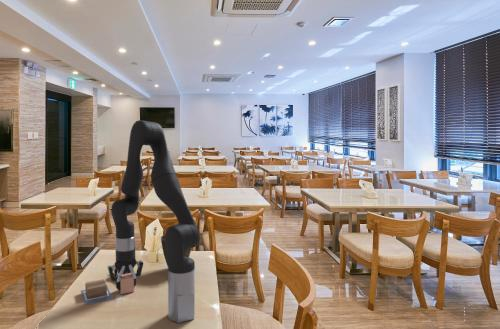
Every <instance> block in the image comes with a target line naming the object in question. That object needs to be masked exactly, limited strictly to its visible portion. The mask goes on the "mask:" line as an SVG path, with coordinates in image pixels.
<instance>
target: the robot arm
mask: <svg viewBox="0 0 500 329" xmlns="http://www.w3.org/2000/svg"><path fill="white" fill-rule="evenodd" d="M143 146H149V147H150V149H151V151H152V155H153V158H154V159H153V165H152V169H151V173H150V179H151V183H152V186H153V189H154V193H155V194H156V197H157V198H158V199H159V200H160V201H161V202H162V203H163V204H164V205H165V206H166V207H167V208H168V209H170V210H171V211H172V213H173V214H174V216H175V218H176V219H177V222H178V223H177V224H173V225H170V226H168V228H166V231H165V234H166V235H165V234H164V235H165V244H166V260H167V263H166V265H167V264H168V266H167V282H168V283H167V285H168V286H167V303H168V304H167V307H168V308H167V309H168V310H167V311H168V313H167V314H168V316H167V317H168V319H169V320H170V321H172V322H176V323H177V324H181V323H184V322H187V321H188V322H189V321H191V320H194V319H195V308H196V307H195V305H196V304H195V292H196V291H195V289H196V288H195V286H196V285H195V282H196V281H195V280H196V279H195V278H196V276H195V275H196V274H195V272H196V271H195V270H196V265H195V261H194V259H193V258H191V257H190V256H189V257H184V255H183V250H187V249H190V248H191V249H193V248H196V247H197V246H199V244H200V241H201V236H200V232H199V228H198V225H197V223H196V220H195V219H194V216H193V215H192V212H191V210H190V209H189V208H190V207H189V205H188V203H187V201H186V198H185V196H184V194H183V190H182V188H181V184H180V181H179V179H178V175H177V173H176V170H175V168H174V165H173V162H172V158H171V155H170V152H169V149H168V145H167V139H166V135H165V132H164V129H163V127H162V125H161V124H159V123H157V122H155V121H147V120H143V119H142V120H136V121H134V123H133V124H132V126H131V129H130V133H129V141H128V150H127V158H126V160H127V161H126V165H125V166H126V167H125V173H124V175H123V179H122V182H121V186H120V191H121V193H122V194H123V195H124V198H121V199H116V200H115V201H113V203H112V205H111V208H110V210H111V212H110V214H111V216H112V220H113V222H114V226H115V243H114V244H115V245H114V247H115V262H114V264H113V265H108V266H107V270H108V274H109V277H110V280H111V281H112V282H115V288H116V290H118V292H120V278H121V277H122V274H123V273H126V272H130V273H131V275H132V276H133V277H134V288H135V287H136V286H137V278H138V277H141V275H142V271H143V267H144V262H143V260H137V259H136V238H135V224H134V222H133V221H130V220H128V216H130V215H133V214H135V213H136V211H138V208H139V205H140V200H139V199H140V188H141V186H142V183H143V178H144V171H143V170H144V169H143V166H142V162H141V152H142V149H143ZM166 260H165V261H166ZM136 265H137V269H136V272H135V271H134V268H135V267H136ZM115 267H116V268H117V269H118V272H117V276H115V273H114V270H115Z"/></svg>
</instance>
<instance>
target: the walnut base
mask: <svg viewBox="0 0 500 329" xmlns="http://www.w3.org/2000/svg"><path fill="white" fill-rule="evenodd" d="M84 285H85V290H86V295H87V298H88V299H92V298H96V297H101V296H106V295H107V287H108V284H107V283H106V281H105V278H104V279H98V280H92V281H87V282H84Z"/></svg>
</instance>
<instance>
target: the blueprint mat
mask: <svg viewBox="0 0 500 329" xmlns="http://www.w3.org/2000/svg"><path fill="white" fill-rule="evenodd" d="M80 294H81V296H82V300H83V303H84V306H88V305H92V304H98V303H101V302H107V301H111V300H114V298H113V296H112V293H111V291H110V290H109V287H108V286H107V295H106V296H101V297H96V298H92V299H88V298H87V295H86V289H82V290H80Z"/></svg>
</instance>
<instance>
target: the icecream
mask: <svg viewBox="0 0 500 329" xmlns="http://www.w3.org/2000/svg"><path fill="white" fill-rule="evenodd" d="M117 272H118V269H117V268H116V267H115V268H114V271H113V274H114V277H116V276H117ZM128 273H130V272H126V273H123V274H128ZM123 274H122V275H123Z"/></svg>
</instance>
